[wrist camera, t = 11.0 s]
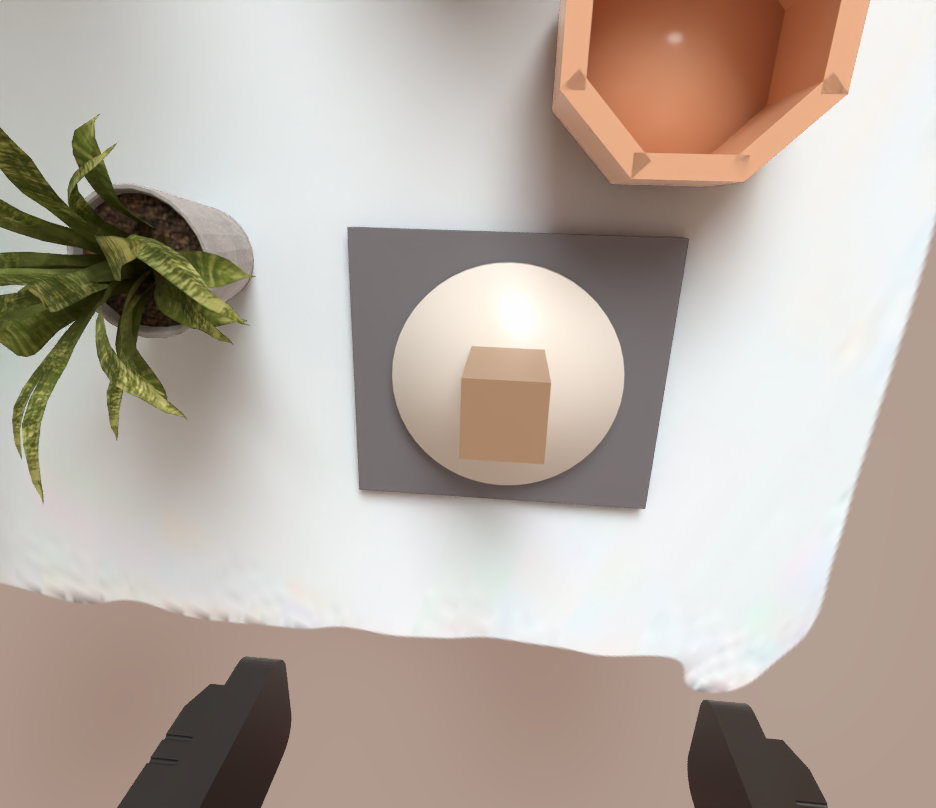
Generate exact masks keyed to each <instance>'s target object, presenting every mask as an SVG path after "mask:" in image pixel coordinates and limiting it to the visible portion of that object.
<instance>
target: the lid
mask: <svg viewBox="0 0 936 808" xmlns="http://www.w3.org/2000/svg"><path fill="white" fill-rule="evenodd" d="M392 382H393V392H394V396H395V401H396V405H397V407H398V410H399V413H400V416H401V418H402V420H403V422H404V424H405V426H406V428H407V430H408V431H409V433H410V434H411V435H412V437H413V438H414V440H415V441H416V442H417V443H418V445H419V446H420V447H421V448H422V449H423V450H424V451H425V452H426V453H427V454H428V455H429V456H430V457H432V458H433V459H434V460H435V461H436V462H438V463H439V464H441V465H442V466H444V467H445V468H447V469H449V470H451V471H452V472H454V473H456V474H458V475H461V476H463V477H466V478H469V479H471V480H475V481H479V482H483V483H487V484H495V485H522V484H530V483H534V482H538V481H543V480H545V479H548V478H551V477H554V476H556V475H558V474H560V473H562V472H564V471H566V470H568V469H570V468H571V467H573V466H574V465H576V464H577V463H579V462H580V461H582V460H583V459H584V458H585V457H586V456H587V455H589V454H590V453H591V452H592V451H593V450H594V449H595V448H596V446H597V445H598V444H599V443H600V442H601V441H602V439H603V438H604V436H605V435H606V434H607V432H608V431H609V429H610V427H611V425H612V423H613V421H614V419H615V417H616V415H617V412H618V409H619V406H620V403H621V399H622V394H623V389H624V361H623V355H622V351H621V346H620V343H619V340H618V337H617V335H616V332H615V330H614V328H613V326H612V324H611V322H610V321H609V319H608V317H607V315H606V314H605V313H604V311H603V310H602V309H601V307H600V306H599V305H598V304H597V302H596V301H595V300H594V299H593V298H592V297H591V296H590V295H589V294H588V293H587V292H586V291H585V290H584V289H582V288H581V287H580V286H578V285H577V284H576V283H575V282H573V281H572V280H570V279H568V278H566V277H565V276H563V275H561V274H559V273H557V272H555V271H552V270H549V269H547V268H544V267H541V266H536V265H532V264H528V263H518V262H496V263H490V264H484V265H480V266H476V267H473V268H470V269H467V270H464V271H462V272H460V273H458V274H456V275H454V276H452V277H450V278H449V279H447V280H445V281H444V282H442V283H441V284H439V285H438V286H437V287H436V288H435V289H433V290H432V291H431V292H430V293H429V294H428V295H427V296H425V298H424V299H423V300H422V301H421V302H420V303H419V304H418V305H417V306H416V308H415V309H414V310H413V312H412V313H411V315H410V316H409V318H408V319H407V321H406V323H405V325H404V327H403V329H402V331H401V333H400V335H399V338H398V341H397V344H396V347H395V353H394V358H393V367H392Z"/></svg>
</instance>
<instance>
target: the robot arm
mask: <svg viewBox="0 0 936 808" xmlns="http://www.w3.org/2000/svg"><path fill="white" fill-rule="evenodd" d="M290 728H291V708H290V699H289V691H288V682H287V673H286V665H285V662H284V661H283V660H278V659H268V658H257V657H244V658H242V659H241V660H240V661H239V663H238V664H237V666H236V667H235V669H234V671H233V672H232V674H231V676H230V677H229V679H228V680H227V682H226V684H225V685H216V684H210V685H209V686H208V687H206V688H205V689H204V690H203V691H202V692H201V693H200V694H198V695H197V696H196V697H195V698H194V699H192V700H191V701H190V702H189V703H188V704H187V705H186V706H185V707H184V708H183V710H182V711H181V712H180V714H179V716H178V717H177V719H176V720H175V722H174V723H173V725H172V726H171V728H170V729H169V731H168V732H167V734H166V738H165V739H164V740H162V741H161V743H160V744H159V746H158V747H157V749H156V750H155V752H154V753H153V755H152V756H151V760H150V762H149V763H147V764H146V765H145V767H144V768H143V770H142V771H141V773H140V774H139V776H138V777H137V779H136V780H135V782H134V784H133V785H132V786H131V788H130V789H129V791H128V792H127V794H126V796H125V797H124V798H123V800H122V801H121V803H120V804H119V806H118V807H117V808H261V806H262V804H263V801H264V799H265V796H266V794H267V792H268V789H269V787H270V785H271V782H272V780H273V778H274V775H275V773H276V771H277V768H278V766H279V764H280V761H281V759H282V757H283V754H284V751H285V749H286V745H287V742H288V739H289V734H290ZM688 780H689V787H690V792H691V796H692V800H693V803H694V806H695V808H828V807H827V802H826V800H825V798H824V796H823V794H822V792H821V791H820V789H819V787H818V785H817V783H816V781H815V779H814V777H813V776H812V773H811V772H810V770H809V769H808V767H807V766H806V765H805V764H804V763H803V762H802V761H801V760H800V759H799V758H798V756H796V755H795V753H794V752H793V751H792V750H791V749H790V748H789V747H788V746H787V744H786V743H785V742H784V741H783V740H777V739H766V737H765V735H764V733H763V731H762V729H761V727H760V724H759V722H758V720H757V718H756V716H755V714H754V712H753V710H752V709H751V707H750V706H749V705H747V704H745V703H734V702H723V701H712V700H703V702H702V703H701V705H700V710H699V714H698V718H697V722H696V726H695V730H694V734H693V738H692V743H691V747H690V751H689V755H688Z"/></svg>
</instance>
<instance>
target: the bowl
mask: <svg viewBox="0 0 936 808" xmlns="http://www.w3.org/2000/svg"><path fill="white" fill-rule="evenodd" d="M869 3H870V0H560V10H559V24H558V38H557V51H556V65H555V79H554V93H553V106H552V111H553V113H554V114H555V115H556V116H557V117H558V119H559V120H560V121H561V122H562V124H563V125H564V126H565V127H566V129H567V130H568V131H569V132H570V134H571V135H572V136H573V137H574V138H575V140H576V141H577V142H578V143H579V145H580V146H581V147H582V148H583V150H584V151H585V152H586V153H587V155H588V156H589V157H590V158H591V160H592V161H593V162H594V163H595V164H596V166H597V167H598V168H599V169H600V171H601V172H602V173H603V174H604V176H605V177H606V178H607V179H608V181H609V182H610V183H611V184H625V185H662V186H700V187H708V186H717V185H725V184H734V183H742V182H745V181H746V180H747V179H748V178H750V177H751V176H752V175H753V174H754V173H755V172H757V171H758V170H759V169H760V168H761V167H762V166H764V165H765V164H766V163H767V162H768V161H770V160H771V159H772V158H773V157H774V156H775V155H777V154H778V153H779V152H780V151H781V150H782V149H784V148H785V147H786V146H787V145H788V144H789V143H791V142H792V141H793V140H794V139H795V138H796V137H798V136H799V135H800V134H801V133H802V132H804V131H805V130H806V129H807V128H808V127H809V126H811V125H812V124H813V123H814V122H815V121H816V120H818V119H819V118H820V117H821V116H822V115H823V114H825V113H826V112H827V111H828V110H829V109H831V108H832V107H833V106H834V105H835V104H836V103H838V102H839V101H840V100H841V99H842V98H843V97H845V96H846V95H847V94H848V91H849V87H850V83H851V78H852V74H853V70H854V66H855V62H856V57H857V53H858V49H859V45H860V41H861V36H862V32H863V28H864V24H865V20H866V15H867V11H868V7H869Z"/></svg>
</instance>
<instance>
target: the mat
mask: <svg viewBox="0 0 936 808" xmlns="http://www.w3.org/2000/svg"><path fill="white" fill-rule="evenodd" d="M347 229H348V251H349V273H350V294H351V316H352V338H353V360H354V381H355V403H356V425H357V447H358V468H359V489H361V490H375V491H390V492H405V493H419V494H434V495H449V496H464V497H478V498H493V499H508V500H522V501H537V502H552V503H566V504H581V505H596V506H610V507H625V508H640V509H645V507H646V501H647V495H648V488H649V482H650V476H651V470H652V464H653V458H654V451H655V445H656V439H657V433H658V427H659V421H660V414H661V408H662V402H663V396H664V390H665V384H666V377H667V371H668V365H669V359H670V353H671V347H672V340H673V334H674V328H675V322H676V316H677V310H678V304H679V297H680V291H681V285H682V279H683V273H684V267H685V260H686V254H687V248H688V242H689V239H687V238H670V237H640V236H610V235H580V234H550V233H520V232H490V231H461V230H431V229H401V228H371V227H347ZM496 262H518V263H528V264H532V265H536V266H541V267H544V268H547V269H549V270H552V271H555V272H557V273H559V274H561V275H563V276H565V277H566V278H568V279H570V280H572V281H573V282H575V283H576V284H577V285H578V286H580V287H581V288H582V289H584V290H585V291H586V292H587V293H588V294H589V295H590V296H591V297H592V298H593V299H594V300H595V301H596V302H597V304H598V305H599V306H600V307H601V309H602V310H603V311H604V313H605V314H606V315H607V317H608V319H609V321H610V322H611V324H612V326H613V328H614V330H615V332H616V335H617V337H618V340H619V343H620V346H621V351H622V355H623V361H624V389H623V394H622V399H621V403H620V406H619V409H618V412H617V415H616V417H615V419H614V421H613V423H612V425H611V427H610V429H609V431H608V432H607V434H606V435H605V436H604V438H603V439H602V441H601V442H600V443H599V444H598V445H597V446H596V448H595V449H594V450H593V451H592V452H591V453H590V454H589V455H587V456H586V457H585V458H584V459H583V460H582V461H580V462H579V463H577V464H576V465H574V466H573V467H571V468H570V469H568V470H566V471H564V472H562V473H560V474H558V475H556V476H554V477H551V478H548V479H545V480H543V481H538V482H534V483H530V484H522V485H495V484H487V483H483V482H479V481H475V480H471V479H469V478H466V477H463V476H461V475H458V474H456V473H454V472H452V471H451V470H449V469H447V468H445V467H444V466H442V465H441V464H439V463H438V462H436V461H435V460H434V459H433V458H432V457H430V456H429V455H428V454H427V453H426V452H425V451H424V450H423V449H422V448H421V447H420V446H419V445H418V443H417V442H416V441H415V440H414V438H413V437H412V435H411V434H410V433H409V431H408V430H407V428H406V426H405V424H404V422H403V420H402V418H401V416H400V413H399V410H398V407H397V405H396V401H395V396H394V392H393V382H392V367H393V358H394V353H395V347H396V344H397V341H398V338H399V335H400V333H401V331H402V329H403V327H404V325H405V323H406V321H407V319H408V318H409V316H410V315H411V313H412V312H413V310H414V309H415V308H416V306H417V305H418V304H419V303H420V302H421V301H422V300H423V299H424V298H425V296H427V295H428V294H429V293H430V292H431V291H432V290H433V289H435V288H436V287H437V286H438V285H439V284H441V283H442V282H444V281H445V280H447V279H449V278H450V277H452V276H454V275H456V274H458V273H460V272H462V271H464V270H467V269H470V268H473V267H476V266H480V265H484V264H490V263H496Z"/></svg>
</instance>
